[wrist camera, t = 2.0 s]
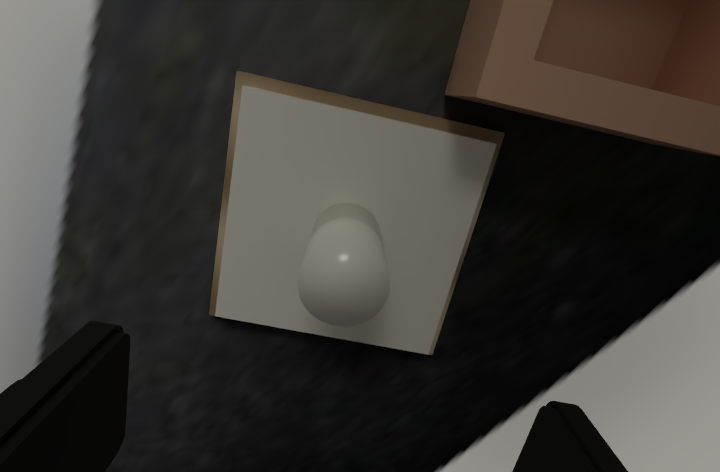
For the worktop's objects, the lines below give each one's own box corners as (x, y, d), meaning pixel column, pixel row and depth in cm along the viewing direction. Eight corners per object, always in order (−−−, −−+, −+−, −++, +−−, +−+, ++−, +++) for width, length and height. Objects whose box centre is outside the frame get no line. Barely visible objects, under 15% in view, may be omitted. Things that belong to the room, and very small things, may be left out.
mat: (240, 71, 18) (236, 70, 18) (500, 132, 19) (505, 133, 19) (212, 308, 22) (209, 314, 21) (430, 348, 23) (432, 355, 22)
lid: (247, 85, 18) (197, 84, 12) (490, 141, 19) (550, 165, 13) (219, 308, 21) (171, 387, 16) (425, 345, 22) (450, 433, 17)
